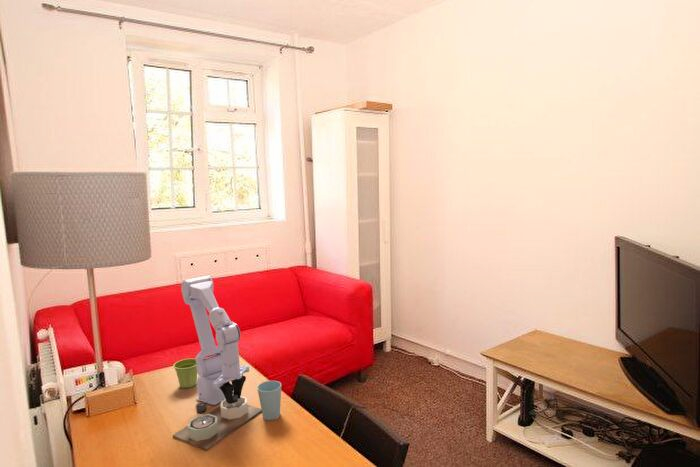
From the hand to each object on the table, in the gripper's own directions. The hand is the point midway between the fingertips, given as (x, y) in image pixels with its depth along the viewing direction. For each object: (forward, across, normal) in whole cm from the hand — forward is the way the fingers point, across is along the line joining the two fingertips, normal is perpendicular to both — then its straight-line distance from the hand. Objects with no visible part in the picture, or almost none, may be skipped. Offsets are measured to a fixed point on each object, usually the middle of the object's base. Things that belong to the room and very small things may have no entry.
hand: (233, 400), depth 146 cm
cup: (+5, +4, -12) cm, 14 cm away
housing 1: (+5, -13, 0) cm, 14 cm away
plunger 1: (+1, -13, 0) cm, 13 cm away
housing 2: (+5, 0, 0) cm, 5 cm away
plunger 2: (+4, 0, 0) cm, 4 cm away
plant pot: (+5, +8, +32) cm, 33 cm away
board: (+5, -6, 0) cm, 8 cm away
